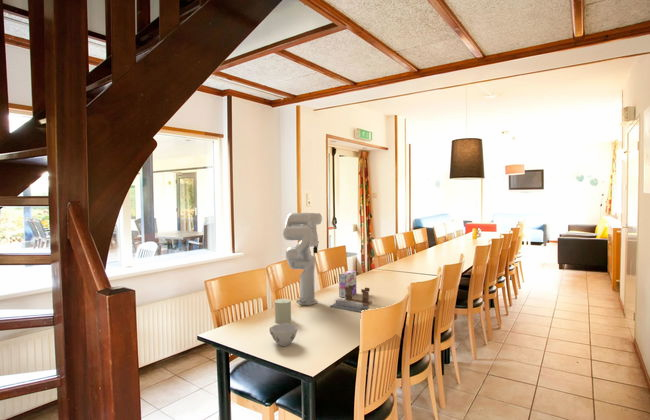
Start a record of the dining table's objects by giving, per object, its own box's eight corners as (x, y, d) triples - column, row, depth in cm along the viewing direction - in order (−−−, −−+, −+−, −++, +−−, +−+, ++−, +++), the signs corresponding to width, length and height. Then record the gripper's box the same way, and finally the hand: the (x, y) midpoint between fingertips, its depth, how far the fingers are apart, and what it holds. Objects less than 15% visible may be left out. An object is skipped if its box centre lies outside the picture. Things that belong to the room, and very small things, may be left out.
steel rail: (360, 309, 219) (360, 304, 219) (335, 304, 229) (335, 300, 229) (363, 307, 222) (363, 303, 222) (338, 303, 232) (337, 298, 232)
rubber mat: (360, 312, 215) (360, 311, 215) (329, 306, 227) (329, 305, 227) (368, 307, 224) (368, 306, 224) (338, 302, 236) (338, 301, 236)
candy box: (346, 298, 245) (345, 274, 244) (338, 297, 249) (338, 273, 248) (356, 293, 256) (356, 270, 255) (349, 292, 260) (349, 269, 259)
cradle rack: (366, 306, 227) (366, 290, 226) (342, 302, 236) (342, 287, 236) (371, 303, 234) (371, 287, 233) (348, 299, 243) (348, 284, 242)
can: (276, 324, 197) (275, 303, 197) (273, 319, 206) (273, 298, 206) (292, 322, 200) (292, 301, 199) (289, 317, 209) (289, 297, 208)
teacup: (302, 341, 174) (302, 325, 174) (286, 351, 163) (286, 334, 163) (278, 335, 182) (277, 320, 181) (261, 344, 171) (261, 328, 171)
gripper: (308, 231, 248) (308, 256, 248) (322, 229, 262) (322, 252, 263) (299, 231, 252) (300, 255, 252) (313, 229, 266) (314, 251, 267)
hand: (311, 254), depth 258 cm, fingers open, 9 cm apart
